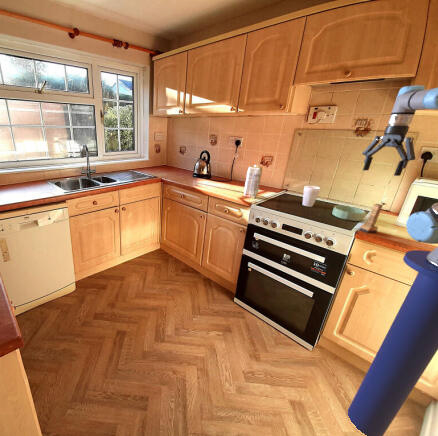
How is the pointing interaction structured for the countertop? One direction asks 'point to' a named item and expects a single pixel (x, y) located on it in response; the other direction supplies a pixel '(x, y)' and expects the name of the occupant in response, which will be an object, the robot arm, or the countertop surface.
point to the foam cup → (310, 195)
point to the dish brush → (372, 220)
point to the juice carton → (252, 181)
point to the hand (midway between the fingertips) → (380, 172)
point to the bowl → (348, 213)
